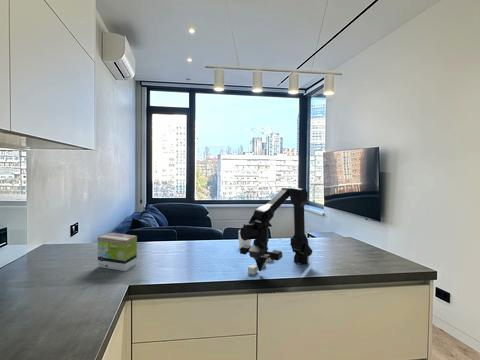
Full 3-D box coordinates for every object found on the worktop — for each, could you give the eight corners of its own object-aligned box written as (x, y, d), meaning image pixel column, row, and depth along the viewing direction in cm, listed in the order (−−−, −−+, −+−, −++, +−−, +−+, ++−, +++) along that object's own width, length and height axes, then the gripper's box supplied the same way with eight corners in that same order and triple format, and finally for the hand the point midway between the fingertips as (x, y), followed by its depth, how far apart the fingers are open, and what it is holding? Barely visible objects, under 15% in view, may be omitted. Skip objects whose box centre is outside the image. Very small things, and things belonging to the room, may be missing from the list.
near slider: (257, 271, 146) (257, 265, 146) (253, 274, 143) (254, 268, 143) (251, 270, 148) (251, 264, 148) (247, 273, 144) (248, 267, 144)
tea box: (96, 267, 149) (96, 237, 148) (110, 261, 159) (110, 232, 157) (125, 271, 145) (125, 240, 144) (137, 264, 155) (137, 234, 154)
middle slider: (265, 265, 155) (265, 259, 155) (262, 267, 152) (262, 261, 152) (259, 264, 157) (260, 258, 156) (256, 266, 153) (256, 260, 153)
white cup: (253, 248, 187) (254, 232, 186) (241, 249, 184) (241, 233, 183) (248, 245, 194) (248, 229, 194) (236, 246, 192) (236, 229, 191)
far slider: (272, 259, 164) (273, 254, 164) (270, 261, 161) (270, 256, 160) (267, 258, 166) (267, 253, 165) (264, 260, 162) (264, 255, 162)
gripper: (234, 238, 139) (233, 272, 141) (274, 244, 131) (273, 281, 132) (245, 232, 149) (244, 265, 150) (283, 238, 141) (282, 272, 142)
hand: (260, 271), depth 144 cm, fingers closed
